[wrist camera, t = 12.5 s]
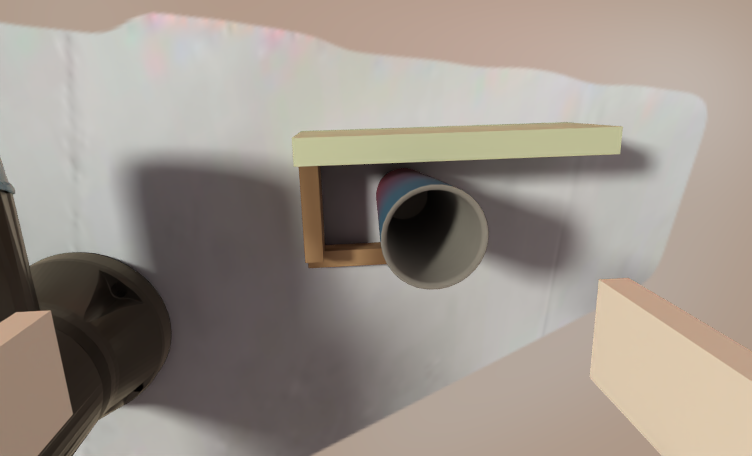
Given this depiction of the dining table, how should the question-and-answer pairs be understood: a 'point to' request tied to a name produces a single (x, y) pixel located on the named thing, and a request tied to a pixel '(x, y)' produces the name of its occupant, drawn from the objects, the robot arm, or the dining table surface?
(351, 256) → the bracket
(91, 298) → the robot arm
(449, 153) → the wall board
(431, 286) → the cup
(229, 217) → the dining table surface
